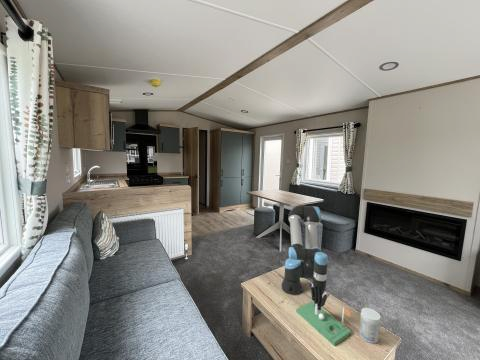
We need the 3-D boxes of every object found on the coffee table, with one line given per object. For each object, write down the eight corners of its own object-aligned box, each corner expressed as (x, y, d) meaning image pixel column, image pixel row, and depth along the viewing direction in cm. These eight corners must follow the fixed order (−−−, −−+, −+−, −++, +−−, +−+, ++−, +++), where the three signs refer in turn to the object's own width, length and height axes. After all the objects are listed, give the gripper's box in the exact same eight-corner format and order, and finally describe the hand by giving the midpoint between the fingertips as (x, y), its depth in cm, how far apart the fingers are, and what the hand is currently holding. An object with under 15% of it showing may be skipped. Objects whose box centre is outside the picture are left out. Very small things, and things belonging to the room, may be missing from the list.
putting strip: (296, 311, 138) (297, 292, 136) (311, 303, 145) (313, 285, 143) (334, 345, 114) (336, 322, 112) (350, 334, 121) (352, 312, 120)
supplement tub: (365, 327, 127) (368, 305, 125) (382, 340, 118) (385, 316, 116) (355, 333, 122) (357, 310, 120) (371, 346, 114) (374, 322, 112)
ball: (322, 317, 126) (320, 322, 128) (326, 316, 128) (324, 320, 129) (318, 313, 129) (316, 317, 130) (322, 311, 131) (320, 315, 132)
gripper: (307, 274, 133) (304, 308, 135) (324, 285, 121) (321, 323, 124) (315, 271, 136) (313, 304, 139) (333, 282, 125) (330, 318, 128)
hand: (317, 313), depth 132 cm, fingers closed
